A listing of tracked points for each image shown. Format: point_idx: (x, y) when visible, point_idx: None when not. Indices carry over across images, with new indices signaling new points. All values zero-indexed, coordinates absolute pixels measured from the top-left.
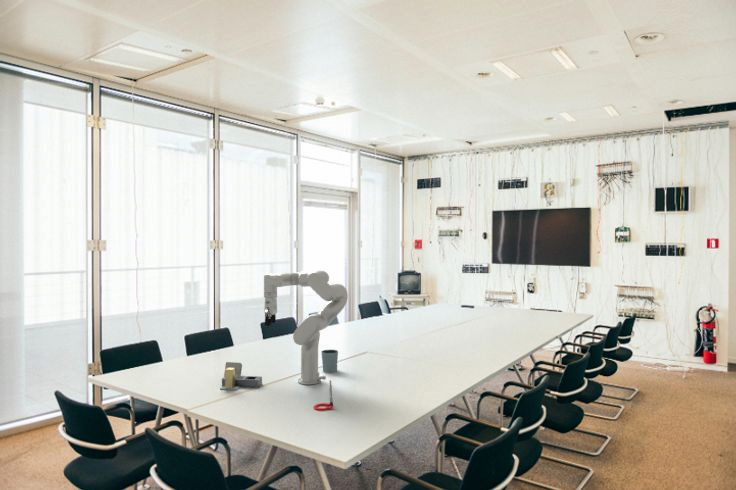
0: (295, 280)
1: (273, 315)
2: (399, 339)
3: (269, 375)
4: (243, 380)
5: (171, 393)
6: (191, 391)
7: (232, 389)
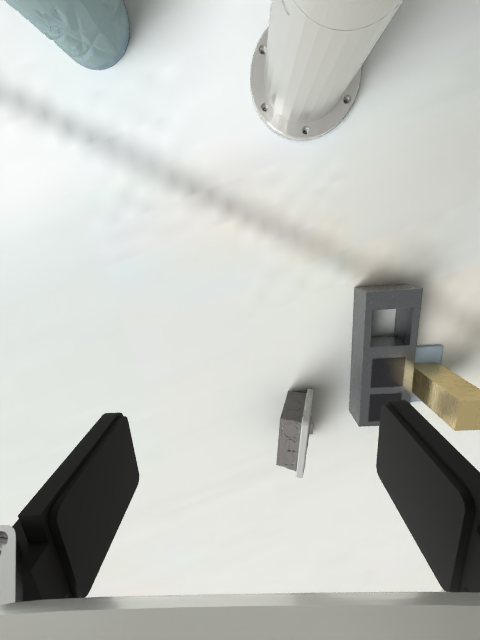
0: None
1: (41, 575)
2: None
3: (236, 301)
4: (414, 346)
5: None
6: None
7: (439, 359)
